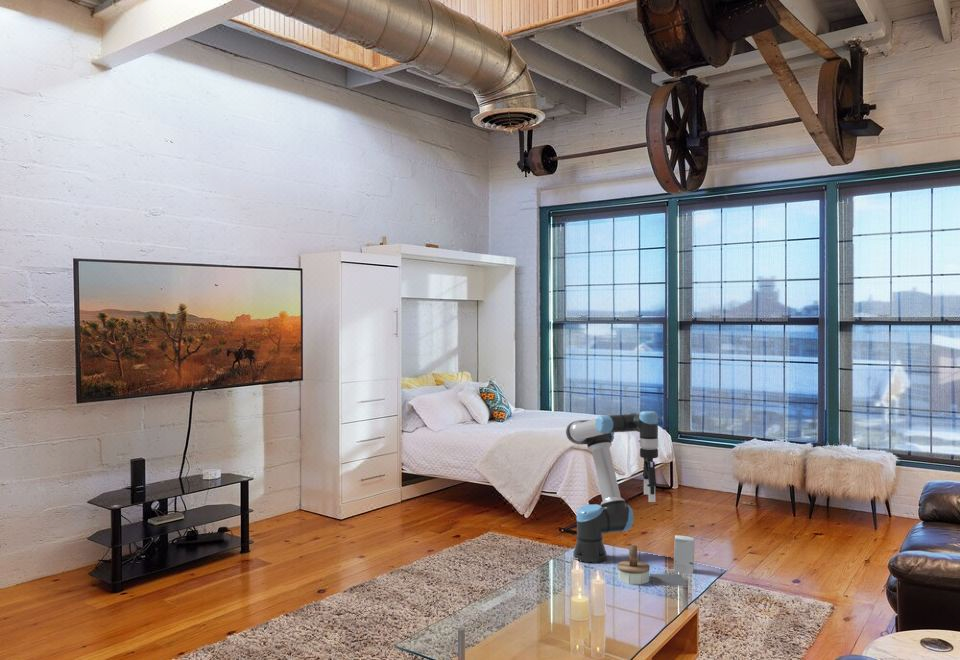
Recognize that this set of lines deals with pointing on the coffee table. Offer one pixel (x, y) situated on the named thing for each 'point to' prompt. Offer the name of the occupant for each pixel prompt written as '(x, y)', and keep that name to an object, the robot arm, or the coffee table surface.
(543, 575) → the coffee table surface
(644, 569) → the lid
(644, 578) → the bowl
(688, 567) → the skincare box
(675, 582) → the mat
